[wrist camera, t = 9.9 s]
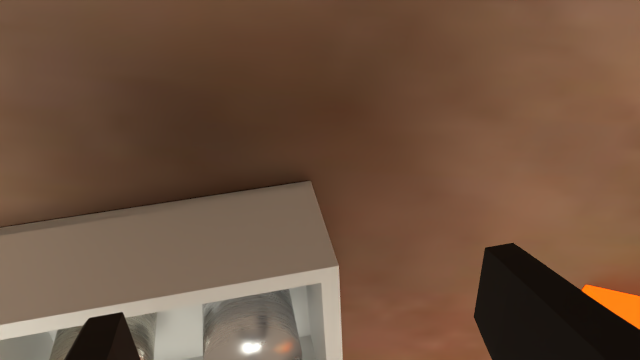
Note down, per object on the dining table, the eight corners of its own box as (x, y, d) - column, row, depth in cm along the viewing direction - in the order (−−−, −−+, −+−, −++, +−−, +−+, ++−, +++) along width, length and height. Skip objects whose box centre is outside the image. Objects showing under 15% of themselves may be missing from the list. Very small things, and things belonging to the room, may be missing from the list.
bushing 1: (165, 330, 23) (160, 412, 20) (79, 345, 23) (60, 433, 19) (146, 269, 21) (137, 349, 18) (51, 285, 21) (24, 371, 17)
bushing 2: (290, 307, 24) (305, 383, 21) (209, 322, 23) (212, 402, 20) (283, 246, 22) (298, 319, 19) (194, 261, 21) (194, 339, 18)
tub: (310, 180, 21) (338, 265, 17) (321, 332, 26) (345, 427, 22) (-14, 229, 19) (-69, 337, 15) (65, 382, 24) (39, 493, 20)
